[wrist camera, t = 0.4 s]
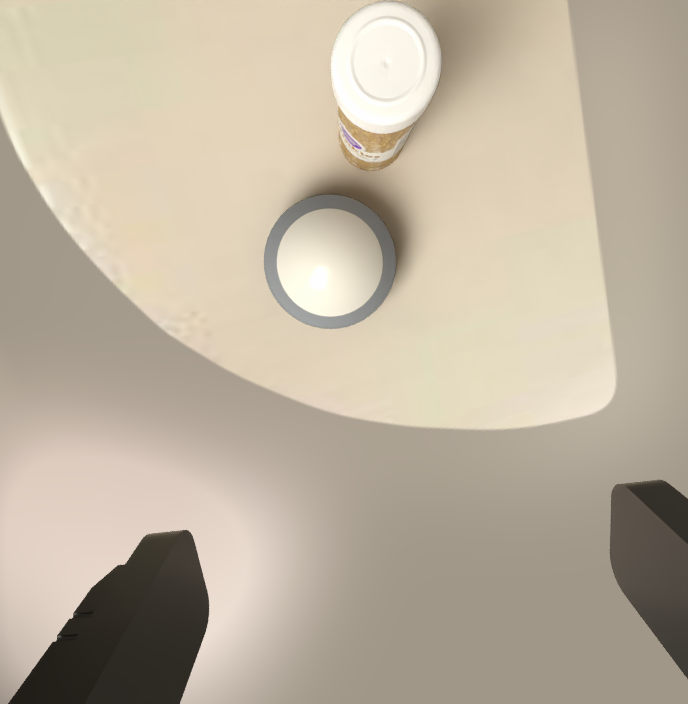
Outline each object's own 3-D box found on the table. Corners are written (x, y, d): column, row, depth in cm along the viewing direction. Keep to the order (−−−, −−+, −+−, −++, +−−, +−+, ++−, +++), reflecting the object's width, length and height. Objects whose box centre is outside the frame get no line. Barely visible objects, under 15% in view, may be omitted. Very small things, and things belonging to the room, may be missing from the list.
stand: (260, 207, 32) (252, 204, 30) (385, 189, 32) (388, 184, 29) (281, 329, 34) (275, 337, 32) (399, 314, 34) (402, 320, 31)
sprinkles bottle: (327, 149, 31) (308, 82, 18) (361, 86, 30) (368, -31, 17) (382, 185, 32) (403, 145, 19) (418, 124, 31) (467, 38, 18)
